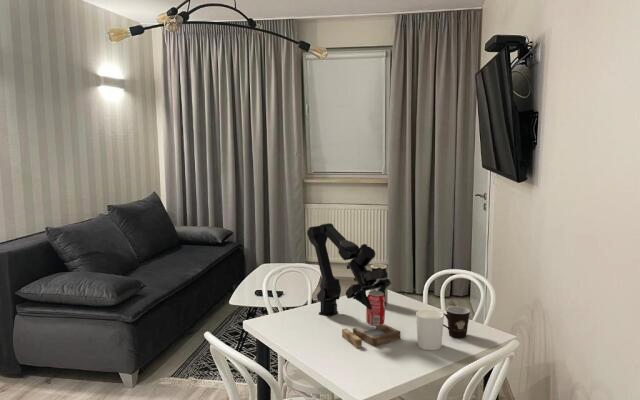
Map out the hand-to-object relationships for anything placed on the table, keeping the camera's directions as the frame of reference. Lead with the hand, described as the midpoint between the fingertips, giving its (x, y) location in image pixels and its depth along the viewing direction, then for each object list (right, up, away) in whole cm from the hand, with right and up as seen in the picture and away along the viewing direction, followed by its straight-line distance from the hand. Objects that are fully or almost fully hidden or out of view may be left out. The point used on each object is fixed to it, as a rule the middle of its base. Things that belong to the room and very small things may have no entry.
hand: (378, 307), depth 182 cm
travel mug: (+5, -8, +42) cm, 43 cm away
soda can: (-1, -7, +2) cm, 7 cm away
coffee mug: (+30, -12, +4) cm, 32 cm away
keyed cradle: (0, -12, +2) cm, 12 cm away
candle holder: (+18, -13, -6) cm, 23 cm away
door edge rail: (-10, -12, -2) cm, 16 cm away
